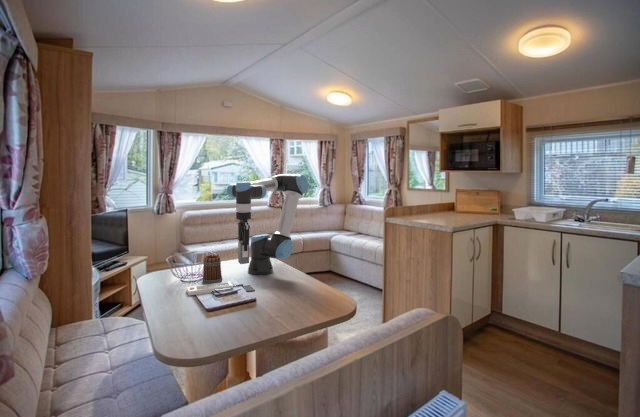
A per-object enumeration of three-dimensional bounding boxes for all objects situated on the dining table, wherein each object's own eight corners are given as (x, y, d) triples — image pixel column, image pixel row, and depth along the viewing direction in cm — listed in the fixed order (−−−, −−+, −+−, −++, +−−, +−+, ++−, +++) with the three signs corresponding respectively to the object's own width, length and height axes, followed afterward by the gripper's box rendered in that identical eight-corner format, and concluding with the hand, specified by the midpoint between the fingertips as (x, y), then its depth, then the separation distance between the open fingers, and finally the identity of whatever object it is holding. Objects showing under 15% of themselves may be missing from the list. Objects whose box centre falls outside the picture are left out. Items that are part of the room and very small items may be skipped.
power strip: (241, 285, 192) (241, 278, 192) (244, 289, 186) (244, 282, 186) (186, 292, 179) (186, 286, 179) (188, 297, 173) (188, 290, 173)
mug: (218, 286, 190) (218, 259, 188) (199, 285, 190) (199, 258, 188) (227, 277, 205) (226, 252, 204) (209, 277, 206) (208, 252, 204)
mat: (249, 285, 192) (249, 284, 192) (254, 291, 184) (254, 289, 184) (233, 288, 188) (233, 287, 187) (237, 293, 180) (237, 292, 180)
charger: (246, 261, 187) (246, 239, 186) (249, 263, 183) (249, 241, 182) (238, 262, 185) (238, 240, 184) (240, 264, 181) (240, 242, 180)
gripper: (232, 209, 187) (232, 252, 189) (241, 213, 172) (241, 260, 174) (245, 209, 190) (245, 251, 193) (255, 213, 175) (255, 259, 178)
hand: (243, 255), depth 184 cm, fingers closed on charger, 4 cm apart
